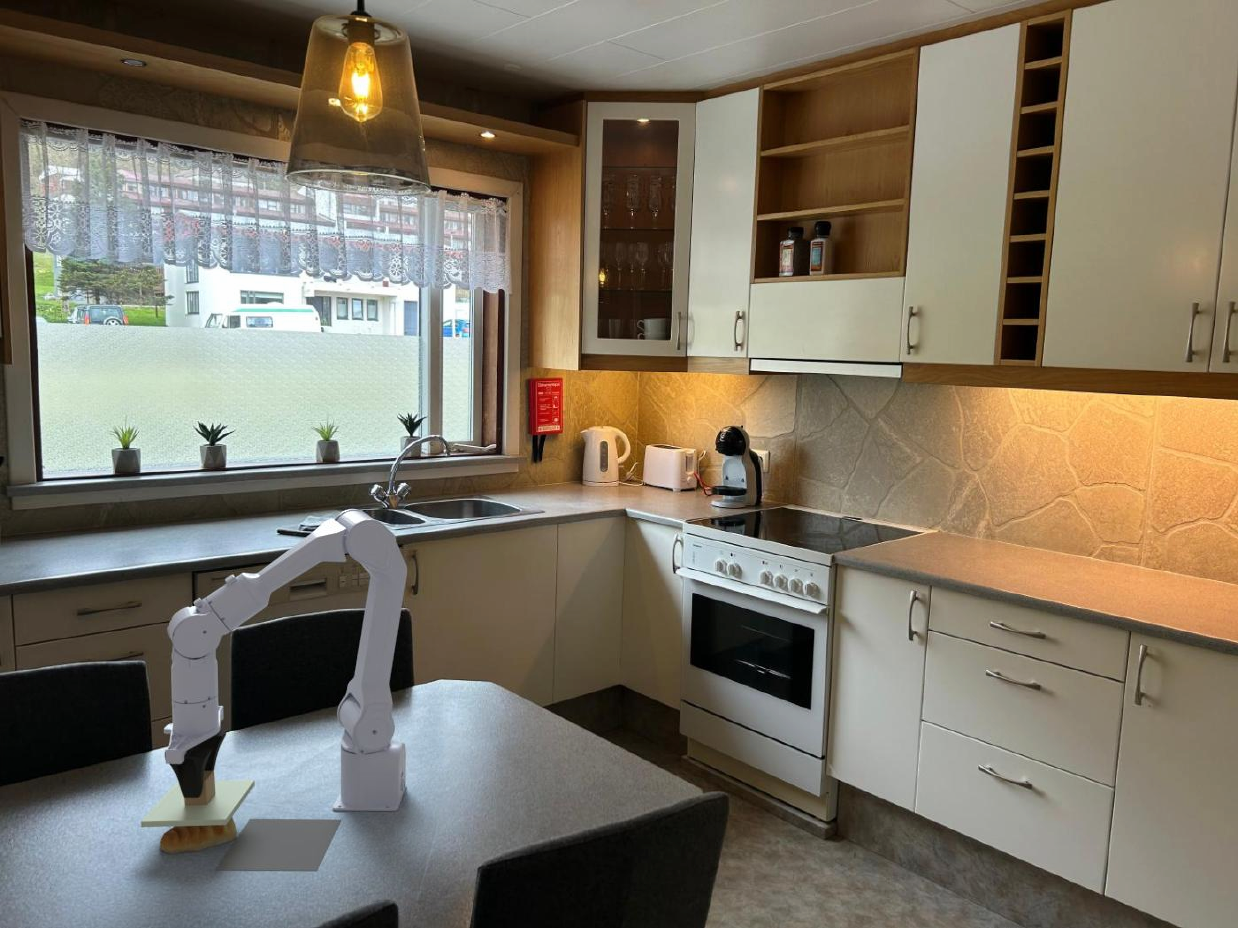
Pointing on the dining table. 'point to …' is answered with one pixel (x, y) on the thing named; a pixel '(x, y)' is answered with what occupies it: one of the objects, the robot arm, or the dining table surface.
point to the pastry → (197, 837)
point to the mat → (280, 845)
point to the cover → (200, 804)
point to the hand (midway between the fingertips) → (197, 790)
